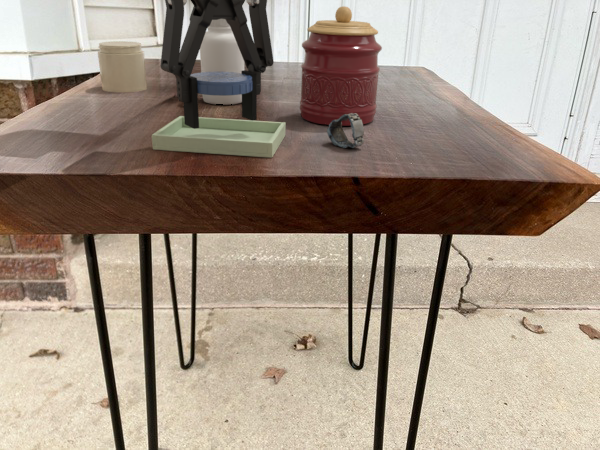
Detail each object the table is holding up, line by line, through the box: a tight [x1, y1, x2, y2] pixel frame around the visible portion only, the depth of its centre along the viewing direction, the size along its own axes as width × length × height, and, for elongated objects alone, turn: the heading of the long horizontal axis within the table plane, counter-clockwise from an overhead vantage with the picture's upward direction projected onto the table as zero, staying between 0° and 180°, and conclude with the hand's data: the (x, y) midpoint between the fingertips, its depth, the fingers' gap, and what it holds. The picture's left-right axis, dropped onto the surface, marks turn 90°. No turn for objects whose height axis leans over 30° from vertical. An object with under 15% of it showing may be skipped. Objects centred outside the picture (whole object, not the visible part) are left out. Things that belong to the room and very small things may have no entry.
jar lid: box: [190, 71, 253, 96], centre depth 71 cm, size 9×9×2 cm
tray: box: [151, 115, 287, 159], centre depth 74 cm, size 16×11×2 cm
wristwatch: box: [326, 113, 365, 149], centre depth 73 cm, size 3×5×5 cm
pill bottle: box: [199, 19, 245, 106], centre depth 96 cm, size 8×8×15 cm
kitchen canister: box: [299, 5, 383, 127], centre depth 86 cm, size 13×13×18 cm
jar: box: [97, 40, 148, 94], centre depth 97 cm, size 8×8×10 cm
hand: (221, 121), depth 73 cm, fingers closed on jar lid, 8 cm apart
